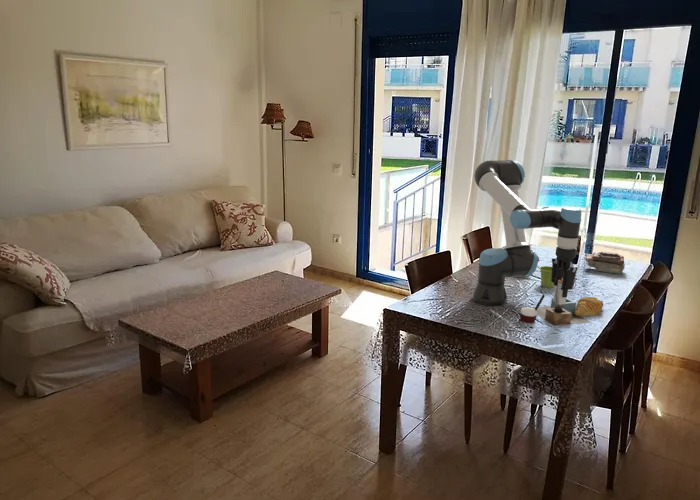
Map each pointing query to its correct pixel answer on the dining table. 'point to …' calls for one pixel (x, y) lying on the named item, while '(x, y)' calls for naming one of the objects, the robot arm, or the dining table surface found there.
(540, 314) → the board
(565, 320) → the mount
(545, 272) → the plant pot
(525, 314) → the cocoa
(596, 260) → the olive toy tank
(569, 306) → the socket
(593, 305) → the croissant
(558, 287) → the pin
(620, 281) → the dining table surface
